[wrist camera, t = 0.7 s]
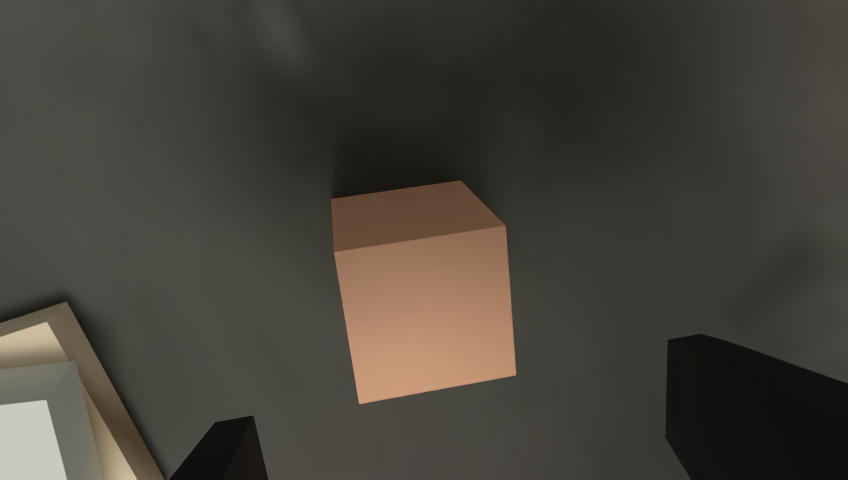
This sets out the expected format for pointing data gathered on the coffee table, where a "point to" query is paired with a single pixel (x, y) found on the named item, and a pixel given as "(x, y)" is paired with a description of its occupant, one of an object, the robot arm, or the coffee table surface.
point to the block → (423, 289)
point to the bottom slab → (110, 422)
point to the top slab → (45, 425)
